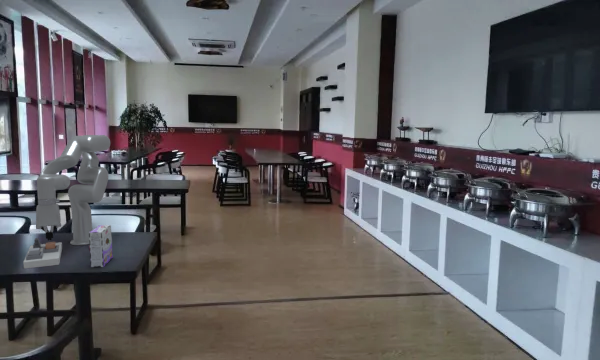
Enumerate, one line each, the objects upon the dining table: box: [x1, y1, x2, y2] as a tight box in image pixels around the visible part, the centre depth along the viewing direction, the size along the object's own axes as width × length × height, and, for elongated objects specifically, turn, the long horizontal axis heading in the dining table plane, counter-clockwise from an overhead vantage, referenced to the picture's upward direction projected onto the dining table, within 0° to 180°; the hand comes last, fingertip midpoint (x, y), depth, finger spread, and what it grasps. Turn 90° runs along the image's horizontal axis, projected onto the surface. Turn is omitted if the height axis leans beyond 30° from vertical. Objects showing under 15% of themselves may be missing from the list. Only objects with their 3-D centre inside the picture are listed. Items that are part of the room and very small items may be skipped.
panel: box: [22, 242, 63, 270], centre depth 221 cm, size 14×30×5 cm, turn 25°
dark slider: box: [33, 237, 42, 248], centre depth 227 cm, size 3×5×4 cm, turn 25°
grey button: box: [28, 248, 40, 256], centre depth 211 cm, size 4×4×2 cm
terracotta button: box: [44, 241, 57, 249], centre depth 221 cm, size 4×4×2 cm
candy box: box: [88, 224, 114, 268], centre depth 212 cm, size 14×6×16 cm, turn 5°
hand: (49, 239), depth 221 cm, fingers closed
